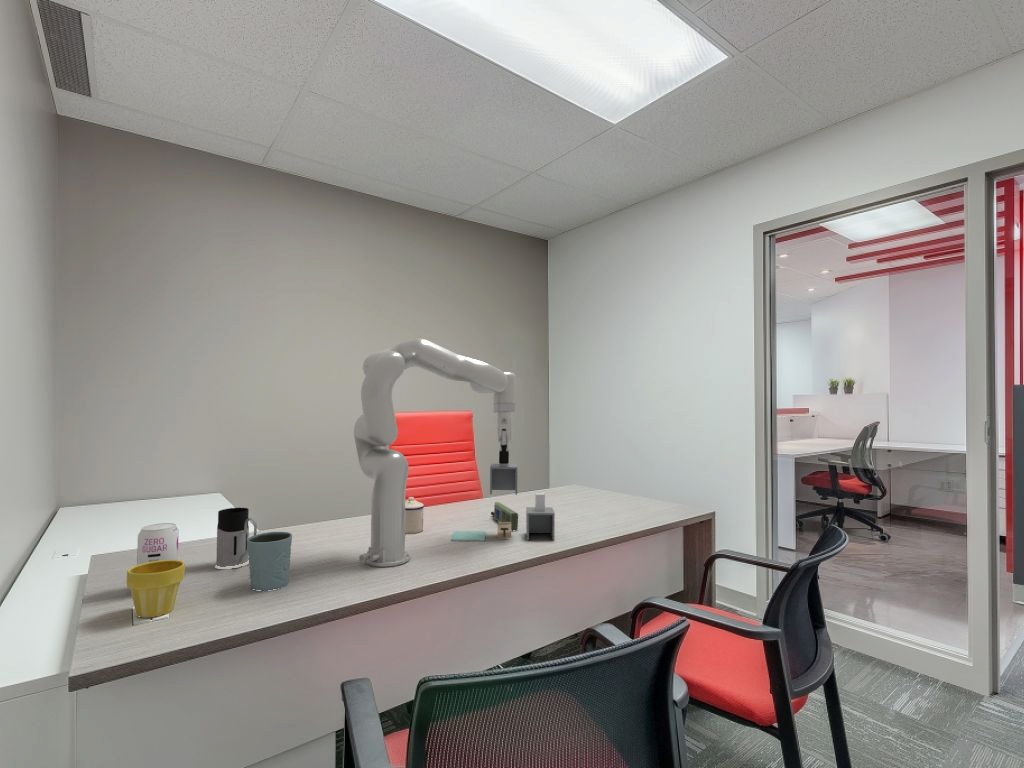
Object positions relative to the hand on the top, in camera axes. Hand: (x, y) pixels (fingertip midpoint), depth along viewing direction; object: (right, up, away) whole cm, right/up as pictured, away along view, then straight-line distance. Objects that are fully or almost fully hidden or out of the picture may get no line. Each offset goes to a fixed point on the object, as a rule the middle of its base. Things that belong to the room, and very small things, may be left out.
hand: (503, 462), depth 174 cm
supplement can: (-84, -23, -49) cm, 100 cm away
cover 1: (0, -10, 0) cm, 10 cm away
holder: (-73, -24, -32) cm, 83 cm away
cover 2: (+12, -25, -1) cm, 28 cm away
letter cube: (0, -25, -1) cm, 25 cm away
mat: (-12, -25, -1) cm, 28 cm away
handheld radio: (-1, -26, +19) cm, 32 cm away
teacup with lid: (-34, -25, +7) cm, 43 cm away
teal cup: (-58, -24, -47) cm, 78 cm away
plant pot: (-75, -23, -63) cm, 100 cm away
